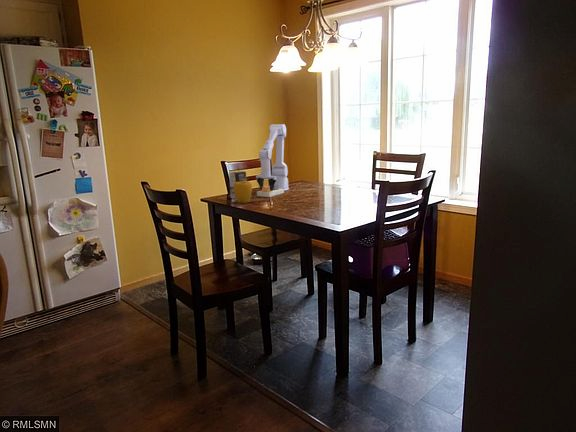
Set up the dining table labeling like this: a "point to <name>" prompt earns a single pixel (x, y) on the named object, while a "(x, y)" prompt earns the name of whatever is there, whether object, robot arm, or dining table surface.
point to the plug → (266, 189)
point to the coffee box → (236, 180)
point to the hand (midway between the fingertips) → (266, 190)
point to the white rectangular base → (273, 193)
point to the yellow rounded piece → (243, 191)
